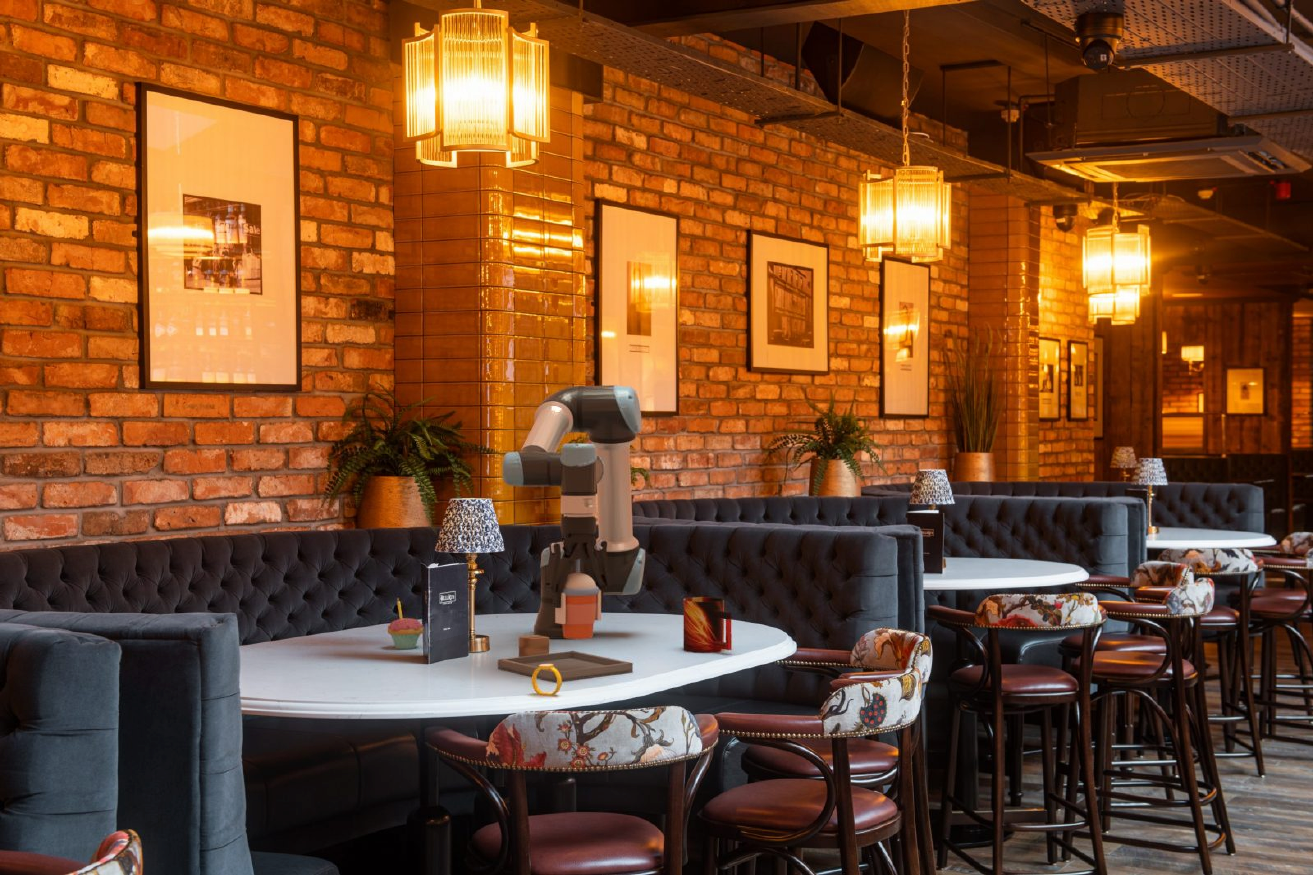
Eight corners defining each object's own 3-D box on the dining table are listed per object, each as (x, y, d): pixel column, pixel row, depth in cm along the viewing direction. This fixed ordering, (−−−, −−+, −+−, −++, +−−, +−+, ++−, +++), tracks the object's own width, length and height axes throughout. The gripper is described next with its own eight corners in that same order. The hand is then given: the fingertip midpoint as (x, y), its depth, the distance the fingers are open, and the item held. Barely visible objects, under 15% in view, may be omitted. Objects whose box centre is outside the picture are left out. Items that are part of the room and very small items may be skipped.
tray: (498, 668, 300) (498, 659, 300) (573, 659, 312) (573, 650, 312) (555, 682, 282) (555, 672, 282) (632, 672, 295) (632, 663, 295)
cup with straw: (561, 641, 288) (561, 555, 288) (552, 635, 296) (552, 551, 296) (603, 639, 290) (603, 554, 290) (593, 633, 299) (593, 550, 299)
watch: (530, 696, 269) (528, 665, 269) (537, 694, 271) (535, 663, 272) (557, 696, 266) (555, 665, 267) (564, 694, 269) (562, 663, 269)
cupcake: (398, 651, 324) (398, 600, 324) (380, 647, 331) (381, 597, 331) (430, 648, 330) (430, 598, 330) (412, 644, 336) (412, 594, 336)
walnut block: (518, 658, 314) (518, 636, 314) (537, 656, 317) (537, 634, 317) (530, 661, 310) (531, 639, 310) (549, 659, 313) (549, 637, 313)
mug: (730, 655, 319) (730, 603, 319) (676, 651, 325) (676, 600, 325) (746, 649, 328) (746, 599, 328) (693, 646, 334) (694, 596, 334)
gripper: (547, 517, 284) (546, 627, 284) (628, 514, 297) (628, 619, 297) (526, 516, 290) (526, 623, 290) (608, 513, 303) (607, 616, 303)
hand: (578, 621), depth 293 cm, fingers closed on cup with straw, 8 cm apart
